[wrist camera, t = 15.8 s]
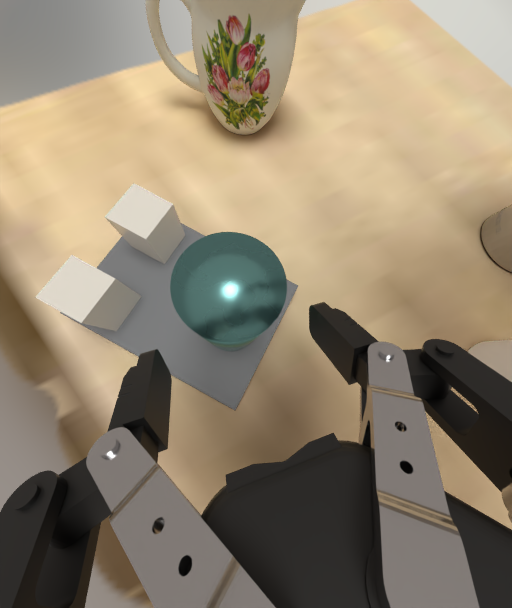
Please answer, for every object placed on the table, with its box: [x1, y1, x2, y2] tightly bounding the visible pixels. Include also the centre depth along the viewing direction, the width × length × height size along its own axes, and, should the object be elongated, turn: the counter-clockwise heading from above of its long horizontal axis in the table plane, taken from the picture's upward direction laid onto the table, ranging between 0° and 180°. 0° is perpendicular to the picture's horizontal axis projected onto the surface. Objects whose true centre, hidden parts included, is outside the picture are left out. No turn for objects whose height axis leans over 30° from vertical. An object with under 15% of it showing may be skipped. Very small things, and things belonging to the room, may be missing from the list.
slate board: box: [60, 223, 298, 410], centre depth 23 cm, size 19×14×2 cm
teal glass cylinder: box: [170, 232, 287, 351], centre depth 16 cm, size 6×6×12 cm
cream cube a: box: [35, 255, 141, 331], centre depth 19 cm, size 4×4×5 cm
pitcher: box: [146, 0, 305, 135], centre depth 24 cm, size 11×18×14 cm, turn 85°
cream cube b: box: [105, 183, 185, 264], centre depth 21 cm, size 4×4×5 cm
